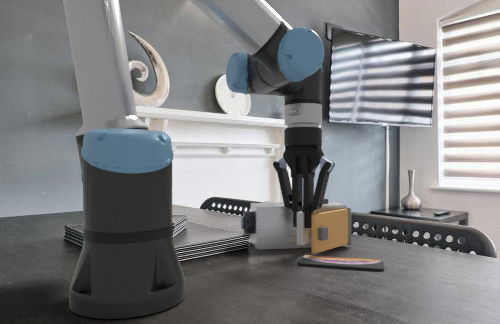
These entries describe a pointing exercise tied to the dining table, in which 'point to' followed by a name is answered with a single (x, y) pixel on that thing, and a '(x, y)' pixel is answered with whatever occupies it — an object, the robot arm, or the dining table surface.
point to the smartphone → (341, 263)
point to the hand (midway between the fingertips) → (302, 243)
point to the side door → (331, 230)
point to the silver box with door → (277, 225)
